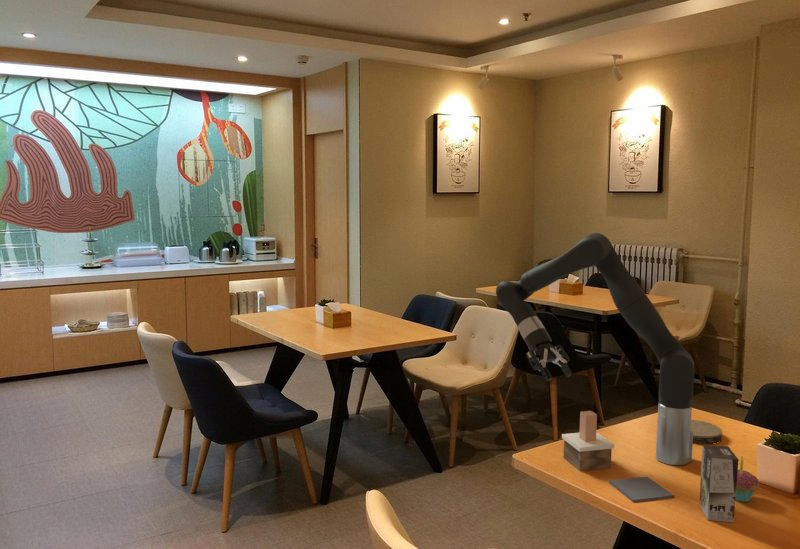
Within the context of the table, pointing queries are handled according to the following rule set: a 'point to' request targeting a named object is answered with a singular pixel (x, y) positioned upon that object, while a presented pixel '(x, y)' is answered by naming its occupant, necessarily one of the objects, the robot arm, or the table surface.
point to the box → (587, 458)
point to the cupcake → (745, 484)
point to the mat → (641, 489)
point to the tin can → (705, 432)
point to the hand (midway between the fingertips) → (559, 377)
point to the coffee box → (718, 483)
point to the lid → (587, 435)
